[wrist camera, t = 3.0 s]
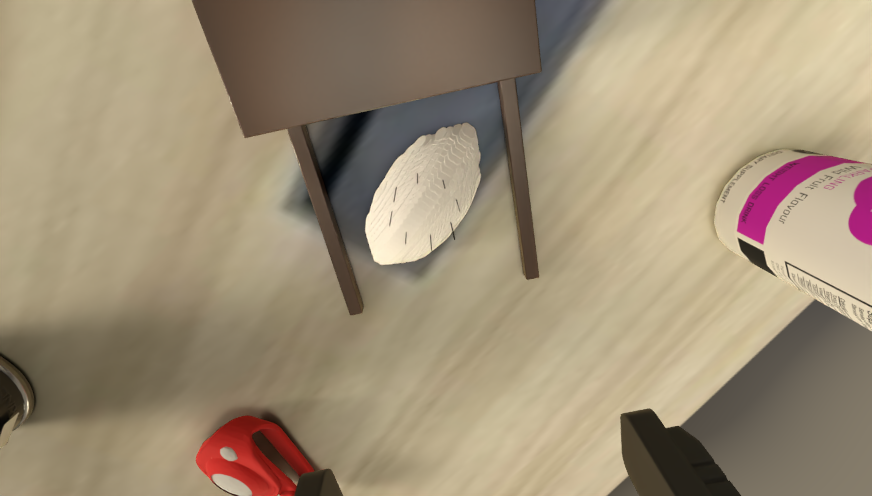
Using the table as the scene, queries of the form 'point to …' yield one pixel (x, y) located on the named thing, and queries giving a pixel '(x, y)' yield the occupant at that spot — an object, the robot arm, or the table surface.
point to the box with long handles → (370, 76)
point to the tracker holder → (249, 459)
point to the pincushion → (424, 195)
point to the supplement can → (805, 225)
